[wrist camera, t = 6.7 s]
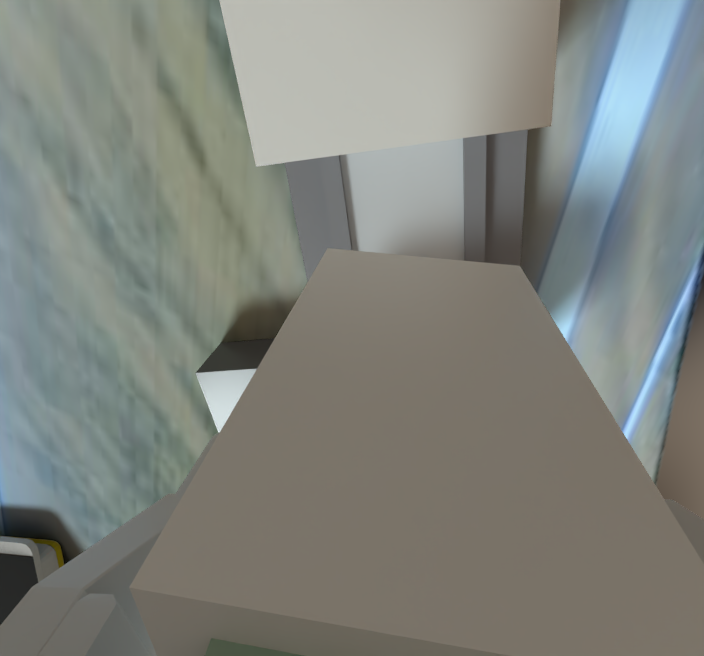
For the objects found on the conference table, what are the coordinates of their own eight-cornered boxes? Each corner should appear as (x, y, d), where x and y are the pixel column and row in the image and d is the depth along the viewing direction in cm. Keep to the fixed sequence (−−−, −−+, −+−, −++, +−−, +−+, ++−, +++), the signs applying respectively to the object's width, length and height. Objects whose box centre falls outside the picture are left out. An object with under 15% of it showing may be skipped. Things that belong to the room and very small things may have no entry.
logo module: (327, 248, 9) (97, 639, 2) (519, 266, 8) (839, 783, 2) (323, 473, 12) (224, 874, 6) (458, 493, 12) (507, 942, 6)
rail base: (270, 43, 20) (188, 0, 13) (526, -5, 18) (607, -91, 11) (332, 379, 29) (305, 470, 22) (509, 372, 27) (547, 470, 19)
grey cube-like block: (221, 342, 29) (195, 373, 25) (288, 336, 28) (271, 367, 25) (241, 398, 31) (219, 434, 28) (303, 395, 30) (289, 432, 27)
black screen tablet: (89, 630, 47) (67, 514, 43) (57, 669, 42) (30, 544, 39) (17, 621, 48) (-9, 508, 45) (-21, 658, 44) (-53, 536, 40)
